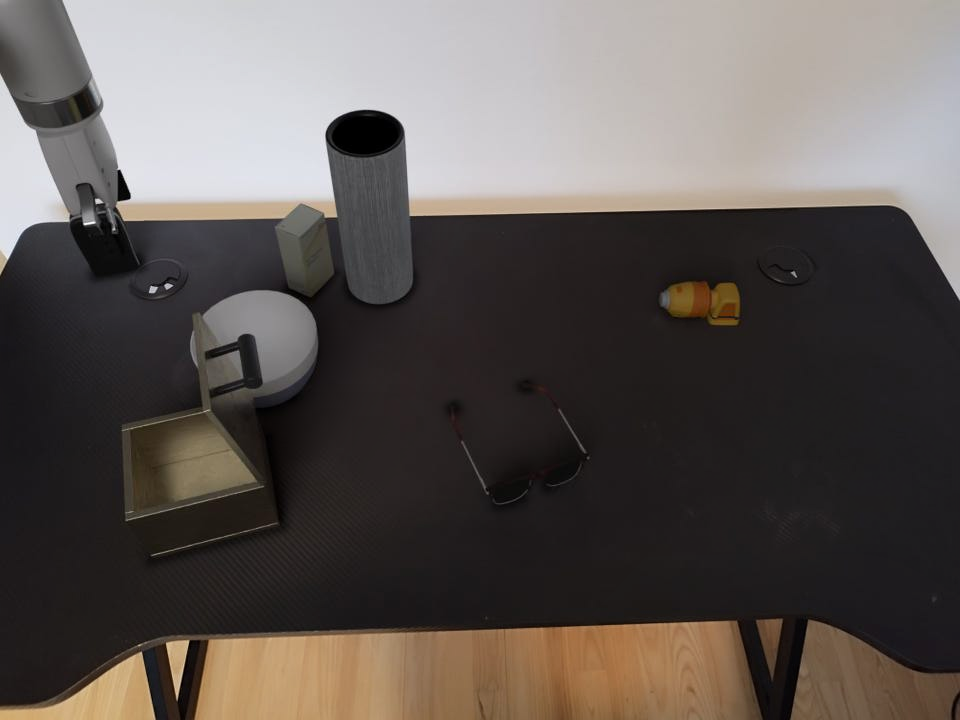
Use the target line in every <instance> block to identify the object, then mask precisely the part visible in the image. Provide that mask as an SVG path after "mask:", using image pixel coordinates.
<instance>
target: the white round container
mask: <svg viewBox="0 0 960 720" xmlns="http://www.w3.org/2000/svg"><path fill="white" fill-rule="evenodd" d="M201 316H202V317H203V319H204V320H205V322H206V323H207V325H208V326H209V328H210V329H211V331H212V333H213V334H214V336H215V337H216V339H217V340H218V342H219V343H220V345H221V346H224V345H227V344H230V343H233V342H236V341H237V340H238V337H239V336H241V335H243V334H252V335H253V336H254V337H255V340H256V346H257V351H258V357H259V363H260V368H261V374H262V380H263V384H262V386H261V387H259V388H257V389H250V390H251V391H252V393H253V399H254V406H255V409H264V408H271V407H274V406H277V405H280V404H284V403H285V402H287V401H289V400H291V399H292V398H293V397H294V396H296V395H297V394H298V393H300V391H301V390H302V389H303V388H304V387H305V386H306V384H307V383H308V381H309V380H310V379H311V377H312V375H313V373H314V370H315V369H316V365H317V359H318V353H319V352H318V351H319V350H318V349H319V337H318V336H319V335H318V329H317V321H316V320H315V317H314V315H313V313H312V312H311V310H310V309H309V308H308V306H307V305H306V304H304V302H302V301H301V300H300V299H298V298H297V297H294V296H292V295H291V294H287V293H284V292H281V291H276V290H269V289H264V290H261V289H259V290H257V289H256V290H248V291H243V292H239V293H236V294H233V295H230V296H228V297H226V298H224V299H222V300H220V301H218V302H217V303H215V304H214V305H212V306H211V307H210V308H209V309H207V310H206V311H205V312H204V313H203V314H202V315H201ZM189 348H190V349H189V350H190V355H191V358H192V361H193V363H194V365H195V367H196V368H197V369H198V363H197V354H196V346H195V337H194V329H193V330H192V333H191V337H190V341H189ZM227 355H228V357H229V358H230V360H231V361H232V363H233V364H234V366H235V367H236V369H237V370H238V372H239V373H240V375H241V376H242V378H243V373H242V367H241V360H240V354H239V350H238V351H235V352H231V353H228V354H227Z"/></svg>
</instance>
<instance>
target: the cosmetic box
mask: <svg viewBox="0 0 960 720" xmlns="http://www.w3.org/2000/svg"><path fill="white" fill-rule="evenodd" d="M274 230H275V235H276V238H277V243H278V248H279V252H280V256H281V261H282V264H283V269H284V272H285V277H286V283H287V285H288V288H289V289H291V290H293V291H295V292H297V293H299V294H302V295H304V296H306V297H309V298H312V297H313V296H314V295H315V294H316V293H317V292H318V291H320V289H321V288H322V287H323V286H324V285H325V284H326V283H327V282H328V281H329V280H330V279H331V278H332V277H333V276H334V275H335V270H334V264H333V258H332V251H331V246H330V241H329V240H330V239H329V233H328V228H327V222H326V217H325V212H323V211H321V210H318V209H316V208H313V207H311V206H309V205H306V204H304V203H301V202H300V203H299V204H298V205H297V206H296V207H295V208H293V210H291V211H290V212H289V213H288V214H286V215H285V217H284V218H283V219H282V220H281V221H279V223H277V224H276V225H275V226H274Z"/></svg>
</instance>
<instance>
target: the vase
mask: <svg viewBox="0 0 960 720" xmlns="http://www.w3.org/2000/svg"><path fill="white" fill-rule="evenodd" d="M324 138H325V147H326V152H327V158H328V159H327V160H328V166H329V173H330V179H331V185H332V193H333V199H334V205H335V212H336V218H337V223H338V224H337V226H338V230H339V238H340V245H341V252H342V257H343V263H344V270H345V271H344V272H345V277H346V282H347V287H348V289H349V291H350V293H351V295H353V296H354V297H355V298H357V299H358V300H359V301H362V302H364V303H367V304H373V305H387V304H390V303H393V302H396V301H398V300H400V299H402V298H404V296H406V295H407V294H408V293H409V291H410V290H411V288H412V286H413V282H414V267H413V265H414V263H413V250H412V231H411V216H410V215H411V214H410V198H409V197H410V196H409V195H410V194H409V180H408V179H409V178H408V163H407V162H408V161H407V145H406V144H407V143H406V130H405V127H404V125H403V124H402V122H401V121H400V120H399V119H397V117H395V116H394V115H392V114H390V113H388V112H386V111H381V110H377V109H357V110H350V111H348V112H346V113H343V114H340V115H339V116H337V117H335V118H334V119H333V120H332V121H331V122H330V123H329V124H328V125H327V127H326V129H325V133H324Z"/></svg>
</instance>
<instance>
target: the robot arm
mask: <svg viewBox="0 0 960 720" xmlns="http://www.w3.org/2000/svg"><path fill="white" fill-rule="evenodd" d="M0 76H1V78H2V80H3V82H4V84H5V86H6V88H7V91H8V93H9V94H10V96H11V99H12V101H13V102H14V104H15V106H16V108H17V111H18V113H19V114H20V116H21V118H22V120H23V122H24V124H25V125H26V126H27V127H28V128H30V129H32V130H34V131H35V134H36V137H37V141H38V143H39V147H40V150H41V153H42V155H43V158H44V160H45V163H46V165H47V168H48V170H49V172H50V175H51V178H52V180H53V182H54V185H55V186H56V189H57V191H58V193H59V196H60V198H61V200H62V202H63V204H64V207H65V208H66V211H67V212H68V214H69V215H70V214H71V215H73V216H76V215H80V212H81V214H82V220H83V225H84V227H85V229H86V230H87V231H88V232H87V233H88V234H89V237H90V238H91V239H92V241H93V243H94V245H95V247H96V249H97V251H98V253H99V255H100V257H101V259H102V260H103V261H109V260H115V259H121V258H127V257H131V256H132V250H131V248H130V246H129V244H128V241H127V239H126V237H125V235H124V233H123V230H122V228H121V227H117V224H116V220H115V216H114V212H113V209H114V208H115V206H116V207H117V204H118V202H125V201H129V200H131V199H132V194H131V192H130V189H129V187H128V183H127V182H126V179H125V176H124V174H123V172H122V170H121V169H119V164H118V158H117V157H118V156H117V153H116V150H115V147H114V143H113V140H112V138H111V136H110V133H109V131H108V129H107V126H106V124H105V122H104V119H103V117H102V115H101V113H102V111H103V109H104V100H103V97H102V95H101V92H100V89H99V87H98V84H97V81H96V79H95V78H94V74H93V72H92V70H91V67H90V65H89V63H88V60H87V58H86V55H85V53H84V50H83V47H82V45H81V43H80V40H79V38H78V35H77V32H76V30H75V28H74V26H73V23H72V20H71V19H70V15H69V13H68V11H67V8H66V6H65V3H64V0H0ZM96 200H100V201H101V203H104V205H98V206H96V204H97V202H96ZM100 211H105V212H106V215H107V219H108V223H101V221H100V219H99V217H98V214H97V212H100Z"/></svg>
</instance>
